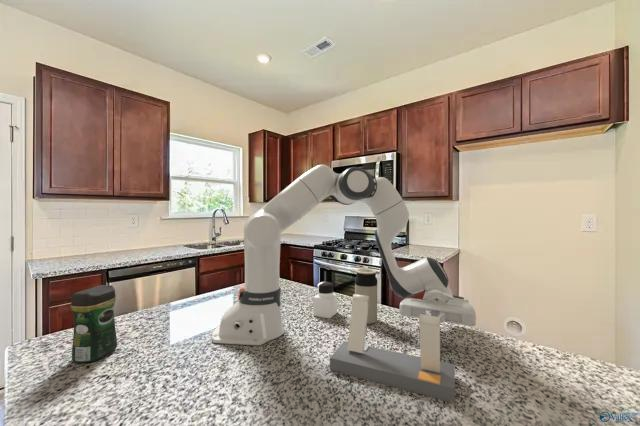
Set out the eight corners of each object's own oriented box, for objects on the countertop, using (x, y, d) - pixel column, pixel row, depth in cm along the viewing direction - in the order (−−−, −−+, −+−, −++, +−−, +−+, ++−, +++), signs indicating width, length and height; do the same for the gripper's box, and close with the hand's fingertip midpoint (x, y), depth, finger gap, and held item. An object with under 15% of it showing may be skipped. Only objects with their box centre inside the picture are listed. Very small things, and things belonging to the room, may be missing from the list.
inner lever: (346, 349, 73) (353, 293, 77) (349, 349, 74) (355, 294, 78) (362, 353, 71) (367, 295, 75) (364, 352, 73) (369, 296, 77)
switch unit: (329, 369, 70) (329, 356, 70) (344, 351, 79) (344, 339, 79) (454, 402, 58) (454, 387, 58) (454, 376, 67) (454, 363, 67)
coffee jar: (97, 345, 83) (97, 282, 82) (122, 347, 82) (121, 283, 81) (64, 363, 73) (63, 292, 73) (91, 365, 72) (90, 293, 72)
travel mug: (366, 326, 96) (367, 274, 96) (350, 319, 102) (350, 270, 102) (381, 320, 101) (382, 270, 101) (365, 314, 107) (365, 267, 107)
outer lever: (420, 369, 65) (419, 317, 61) (421, 362, 67) (420, 312, 63) (439, 373, 63) (439, 321, 59) (440, 366, 65) (439, 315, 61)
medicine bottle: (337, 312, 109) (337, 281, 109) (330, 319, 103) (330, 286, 103) (320, 309, 112) (320, 279, 112) (312, 315, 106) (312, 284, 106)
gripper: (402, 290, 92) (394, 303, 80) (473, 299, 84) (477, 314, 71) (402, 310, 93) (394, 325, 80) (473, 320, 84) (477, 339, 71)
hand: (434, 320), depth 76 cm, fingers closed
